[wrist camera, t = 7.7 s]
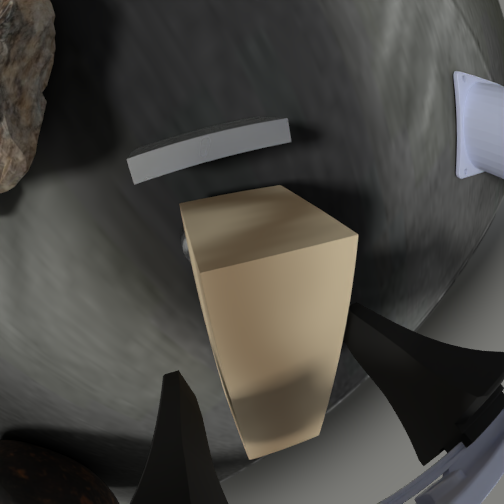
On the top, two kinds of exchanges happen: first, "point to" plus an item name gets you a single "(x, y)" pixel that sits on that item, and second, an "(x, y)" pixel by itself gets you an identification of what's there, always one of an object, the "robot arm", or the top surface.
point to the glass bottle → (47, 477)
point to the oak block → (272, 307)
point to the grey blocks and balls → (206, 148)
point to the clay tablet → (23, 82)
